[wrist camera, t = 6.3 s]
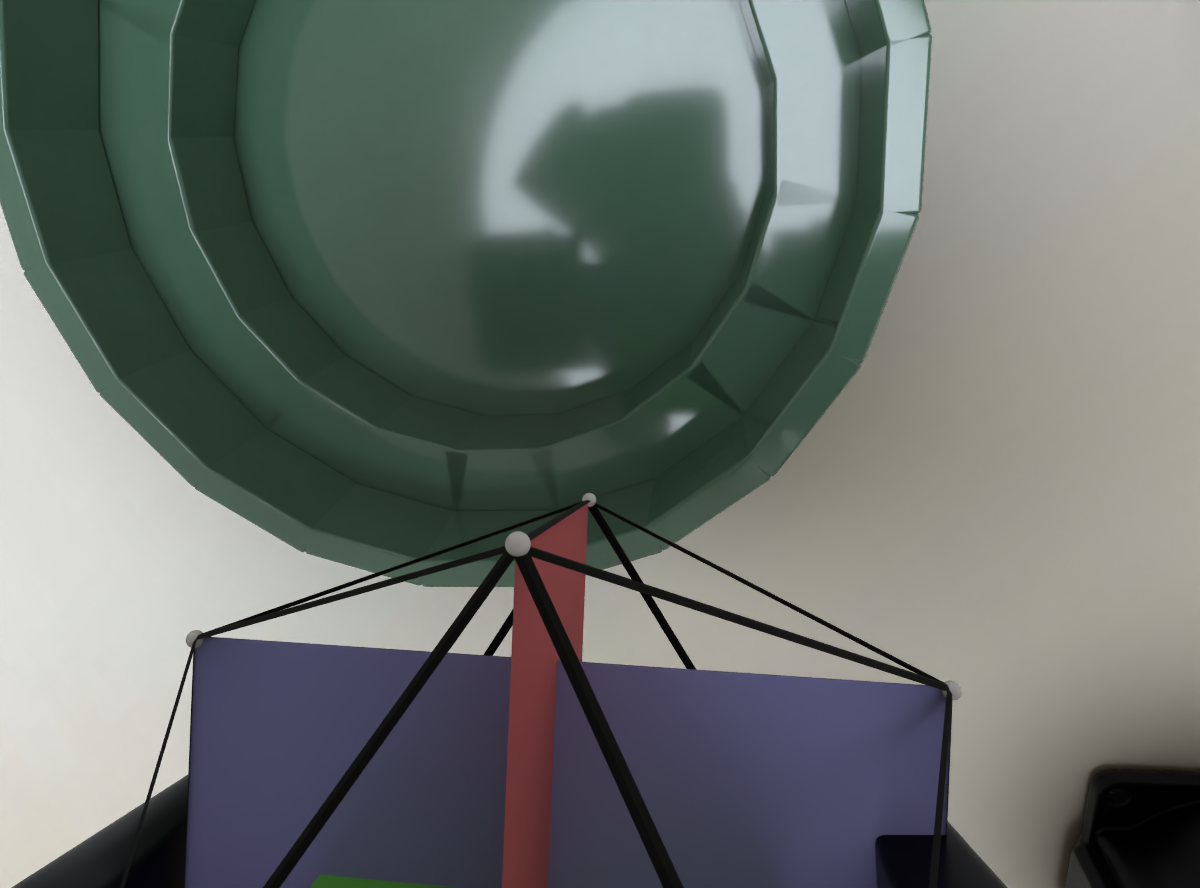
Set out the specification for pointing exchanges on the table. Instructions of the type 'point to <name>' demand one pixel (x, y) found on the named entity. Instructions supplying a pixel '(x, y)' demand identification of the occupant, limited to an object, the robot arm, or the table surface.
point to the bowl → (465, 248)
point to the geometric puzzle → (548, 752)
